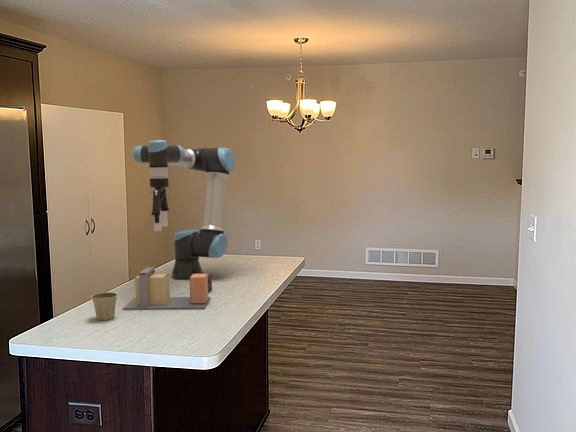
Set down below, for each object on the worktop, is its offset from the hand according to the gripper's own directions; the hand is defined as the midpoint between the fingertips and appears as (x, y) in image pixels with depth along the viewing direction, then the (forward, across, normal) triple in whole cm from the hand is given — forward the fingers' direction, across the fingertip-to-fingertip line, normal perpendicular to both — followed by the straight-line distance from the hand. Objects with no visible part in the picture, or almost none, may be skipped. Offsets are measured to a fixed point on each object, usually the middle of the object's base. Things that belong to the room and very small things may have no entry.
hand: (161, 228), depth 232 cm
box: (+30, -9, +16) cm, 35 cm away
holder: (+29, +11, +4) cm, 32 cm away
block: (+28, +12, +17) cm, 35 cm away
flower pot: (+29, +30, -16) cm, 45 cm away
